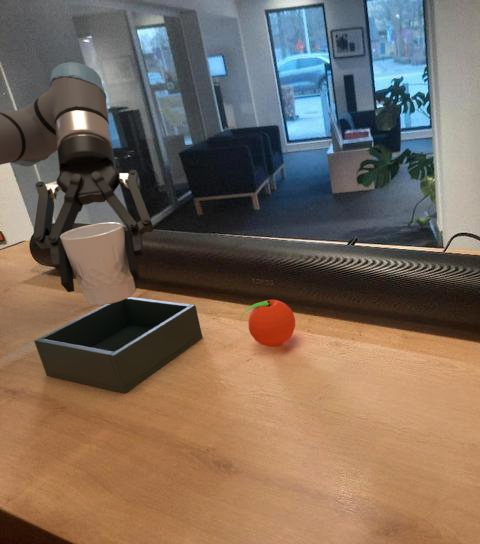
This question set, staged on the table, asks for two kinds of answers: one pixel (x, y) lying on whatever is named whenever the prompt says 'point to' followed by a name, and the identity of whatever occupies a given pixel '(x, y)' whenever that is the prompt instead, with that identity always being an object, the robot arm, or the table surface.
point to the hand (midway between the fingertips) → (102, 281)
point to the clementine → (271, 322)
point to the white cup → (100, 262)
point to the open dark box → (119, 343)
